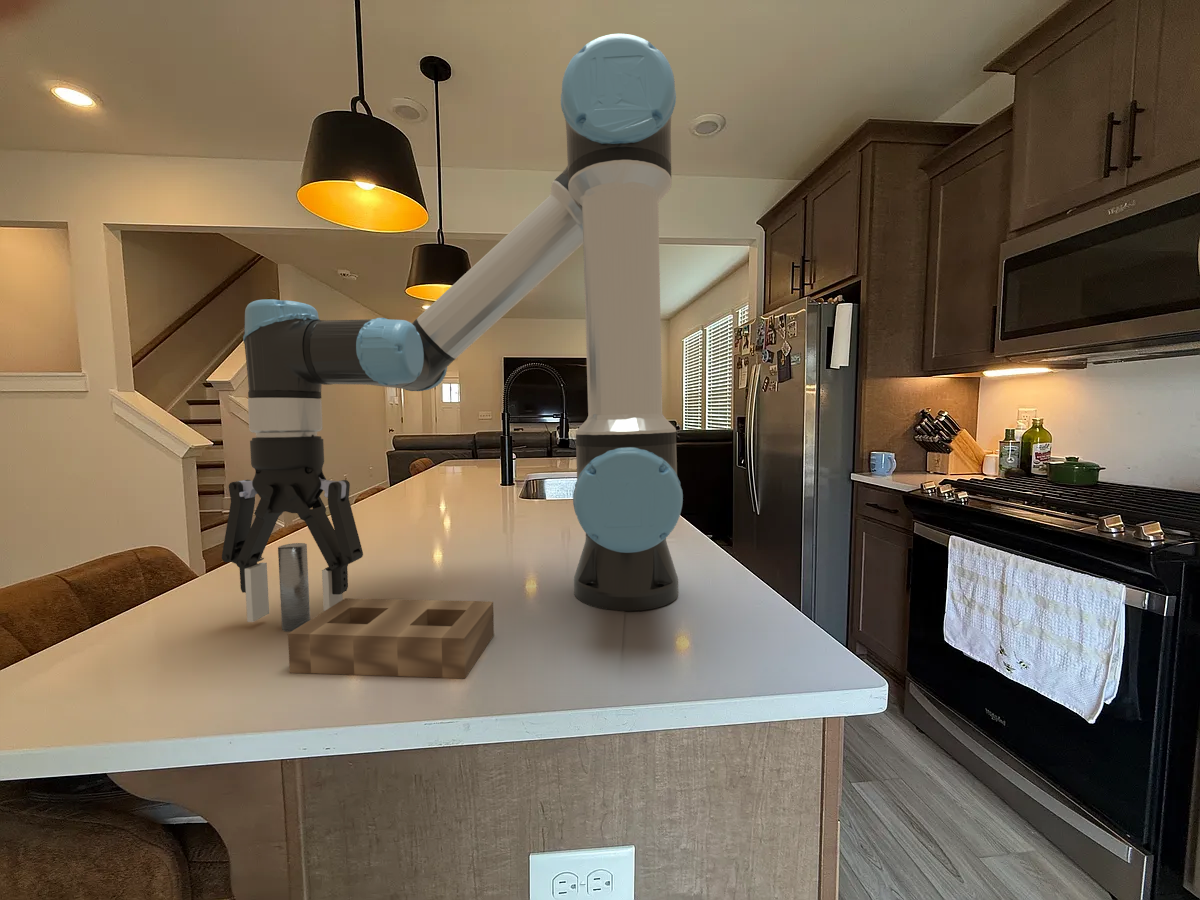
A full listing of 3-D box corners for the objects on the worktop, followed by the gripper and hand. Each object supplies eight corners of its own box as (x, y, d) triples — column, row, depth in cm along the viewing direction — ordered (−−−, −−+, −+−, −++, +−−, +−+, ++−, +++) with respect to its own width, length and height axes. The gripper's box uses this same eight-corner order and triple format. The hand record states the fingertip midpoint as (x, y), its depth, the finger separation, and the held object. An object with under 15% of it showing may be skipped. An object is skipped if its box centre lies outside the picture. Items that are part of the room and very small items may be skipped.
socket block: (493, 635, 60) (493, 601, 60) (464, 678, 50) (464, 638, 50) (346, 631, 61) (345, 598, 61) (289, 672, 51) (287, 633, 51)
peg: (315, 621, 64) (312, 543, 64) (299, 631, 61) (296, 549, 61) (292, 621, 65) (289, 542, 64) (276, 631, 62) (272, 549, 61)
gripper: (390, 433, 64) (396, 609, 66) (227, 434, 66) (236, 605, 67) (357, 435, 57) (364, 633, 58) (174, 436, 59) (186, 628, 60)
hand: (295, 618), depth 63 cm, fingers open, 9 cm apart
